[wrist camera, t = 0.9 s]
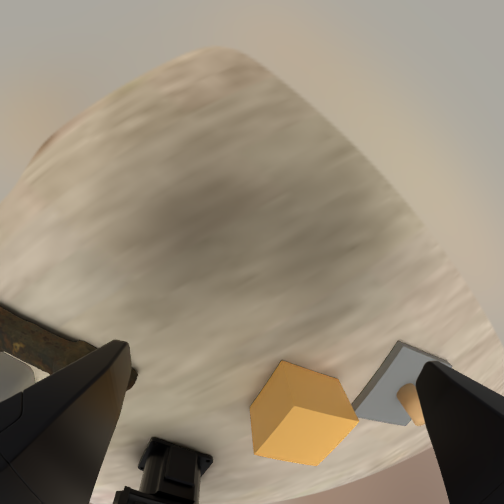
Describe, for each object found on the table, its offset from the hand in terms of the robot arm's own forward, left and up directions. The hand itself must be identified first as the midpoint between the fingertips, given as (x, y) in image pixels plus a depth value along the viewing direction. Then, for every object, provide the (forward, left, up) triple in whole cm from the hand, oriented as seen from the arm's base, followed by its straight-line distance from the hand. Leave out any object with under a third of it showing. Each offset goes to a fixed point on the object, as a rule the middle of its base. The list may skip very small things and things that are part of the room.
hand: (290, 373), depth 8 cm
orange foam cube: (-9, -8, -13) cm, 18 cm away
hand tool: (-14, +14, -14) cm, 24 cm away
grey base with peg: (-5, -18, -13) cm, 23 cm away
